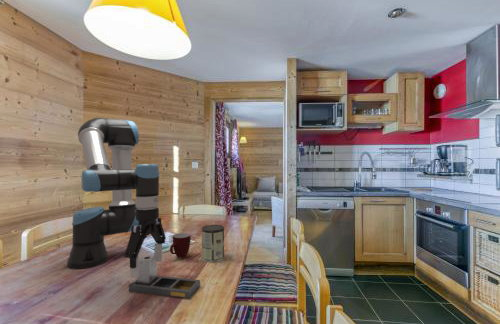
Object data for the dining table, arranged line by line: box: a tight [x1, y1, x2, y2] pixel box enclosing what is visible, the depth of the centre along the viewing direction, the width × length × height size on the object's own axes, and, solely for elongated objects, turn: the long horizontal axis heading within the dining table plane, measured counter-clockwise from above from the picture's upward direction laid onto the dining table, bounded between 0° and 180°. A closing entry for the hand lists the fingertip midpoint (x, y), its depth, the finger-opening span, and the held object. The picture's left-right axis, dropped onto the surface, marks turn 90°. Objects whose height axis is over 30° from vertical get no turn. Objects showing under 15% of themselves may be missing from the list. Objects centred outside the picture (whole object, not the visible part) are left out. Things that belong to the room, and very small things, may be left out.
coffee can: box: [201, 224, 225, 263], centre depth 116 cm, size 10×10×14 cm
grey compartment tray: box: [128, 275, 201, 300], centre depth 87 cm, size 22×9×2 cm, turn 78°
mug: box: [169, 232, 192, 259], centre depth 116 cm, size 11×8×10 cm
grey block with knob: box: [136, 254, 158, 286], centre depth 88 cm, size 4×4×10 cm
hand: (147, 268), depth 88 cm, fingers open, 13 cm apart
